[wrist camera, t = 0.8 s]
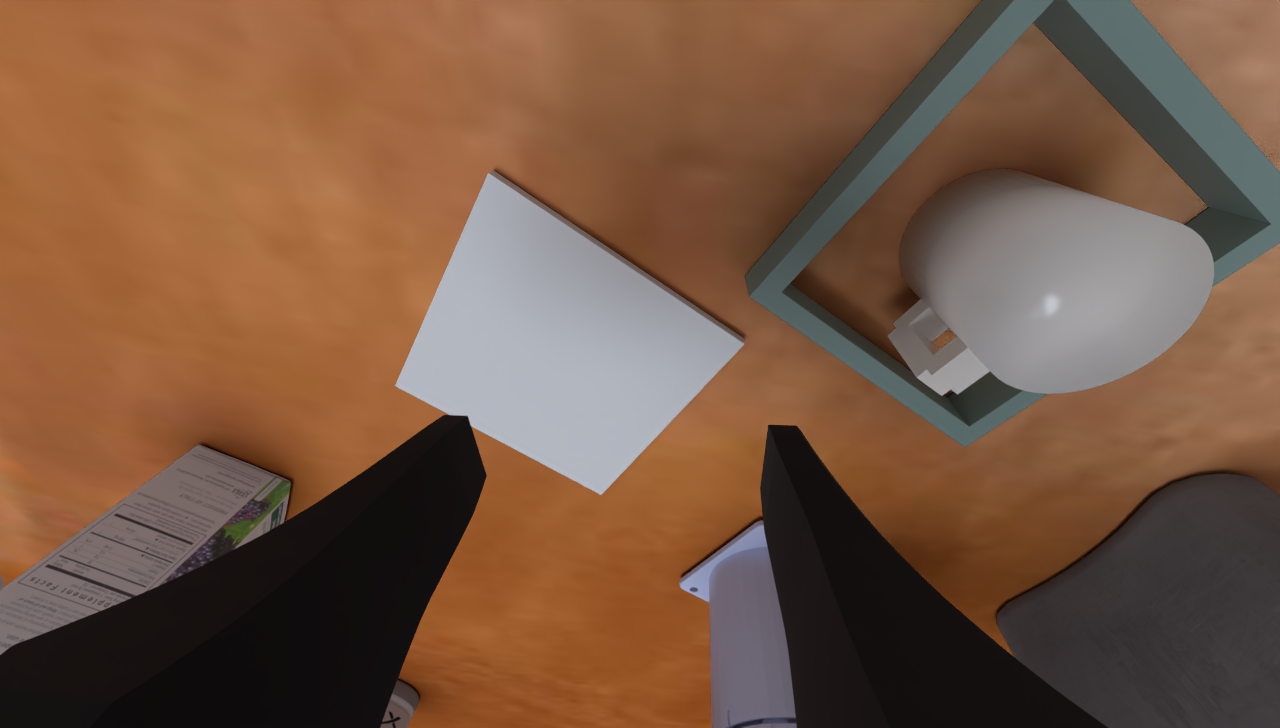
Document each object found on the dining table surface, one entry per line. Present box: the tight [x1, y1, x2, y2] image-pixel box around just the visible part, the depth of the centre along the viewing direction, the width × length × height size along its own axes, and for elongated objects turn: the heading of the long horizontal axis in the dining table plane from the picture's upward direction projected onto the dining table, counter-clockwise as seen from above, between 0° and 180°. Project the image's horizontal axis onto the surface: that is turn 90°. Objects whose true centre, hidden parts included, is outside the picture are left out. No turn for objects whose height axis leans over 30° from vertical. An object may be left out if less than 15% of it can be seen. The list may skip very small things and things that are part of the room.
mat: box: [395, 170, 745, 495], centre depth 21 cm, size 12×12×1 cm
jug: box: [887, 169, 1214, 396], centre depth 15 cm, size 7×5×6 cm
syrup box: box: [0, 445, 291, 655], centre depth 23 cm, size 6×6×14 cm
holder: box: [745, 0, 1280, 447], centre depth 16 cm, size 12×12×2 cm
